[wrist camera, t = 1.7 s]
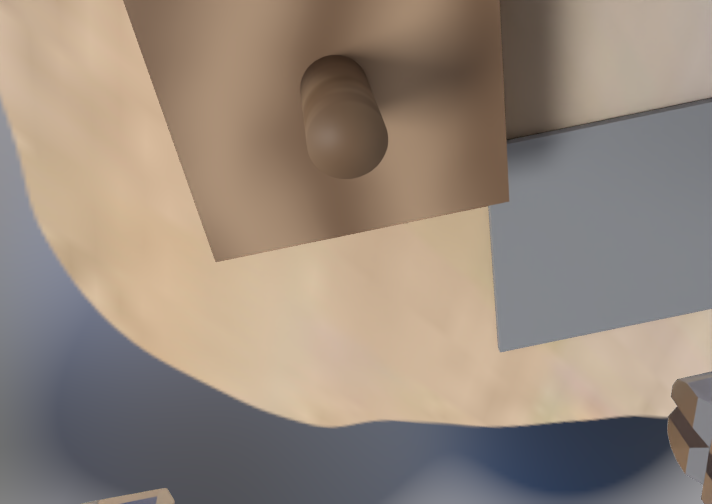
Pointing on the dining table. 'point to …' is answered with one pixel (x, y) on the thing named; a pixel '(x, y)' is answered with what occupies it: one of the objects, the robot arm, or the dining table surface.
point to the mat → (604, 226)
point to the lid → (328, 112)
